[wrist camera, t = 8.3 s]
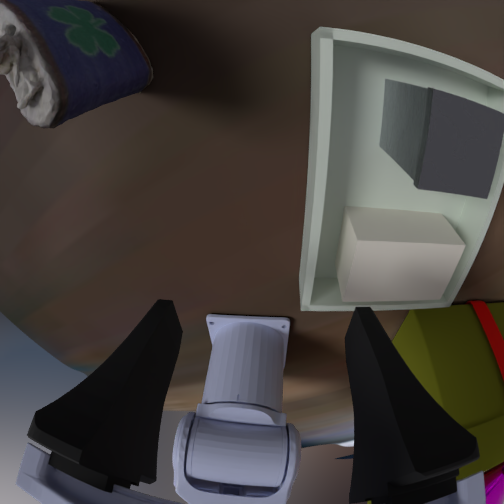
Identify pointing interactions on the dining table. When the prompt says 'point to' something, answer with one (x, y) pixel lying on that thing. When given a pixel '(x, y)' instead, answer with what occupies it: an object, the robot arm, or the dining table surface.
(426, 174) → the tin
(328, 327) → the dining table surface
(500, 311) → the gift box
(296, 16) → the dining table surface
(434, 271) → the egg box
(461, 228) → the tote
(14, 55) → the flask
